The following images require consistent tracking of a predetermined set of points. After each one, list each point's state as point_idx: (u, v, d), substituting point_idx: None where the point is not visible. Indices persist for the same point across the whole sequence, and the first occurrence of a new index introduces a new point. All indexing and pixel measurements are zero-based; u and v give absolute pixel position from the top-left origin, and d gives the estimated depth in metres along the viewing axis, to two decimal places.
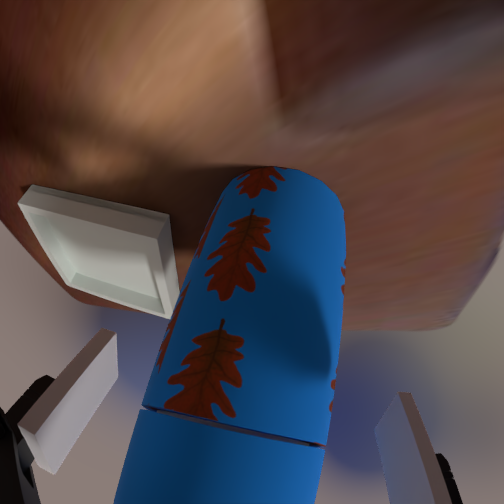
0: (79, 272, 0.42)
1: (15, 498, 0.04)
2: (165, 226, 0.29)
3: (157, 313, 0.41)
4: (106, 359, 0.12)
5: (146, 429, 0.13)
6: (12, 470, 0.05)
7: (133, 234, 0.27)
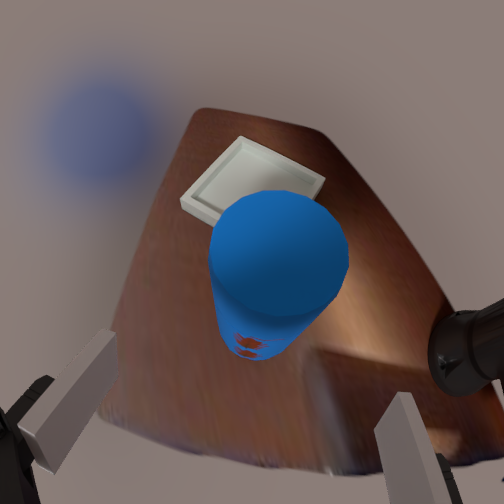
0: (241, 152, 0.59)
1: (15, 498, 0.04)
2: None
3: (191, 190, 0.52)
4: (106, 359, 0.12)
5: None
6: (12, 470, 0.05)
7: None
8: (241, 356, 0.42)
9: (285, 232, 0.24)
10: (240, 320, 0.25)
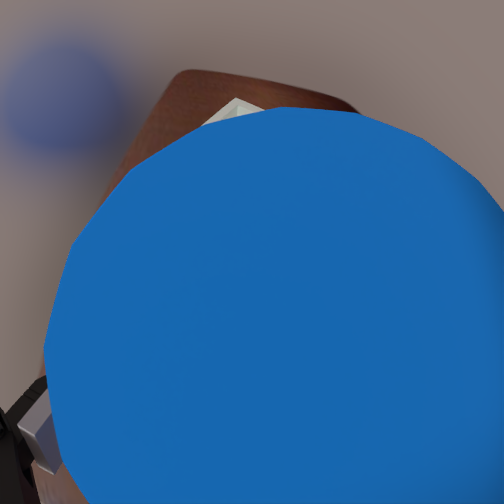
0: None
1: (15, 498, 0.04)
2: None
3: None
4: None
5: None
6: (12, 470, 0.05)
7: None
8: None
9: (386, 266, 0.05)
10: None
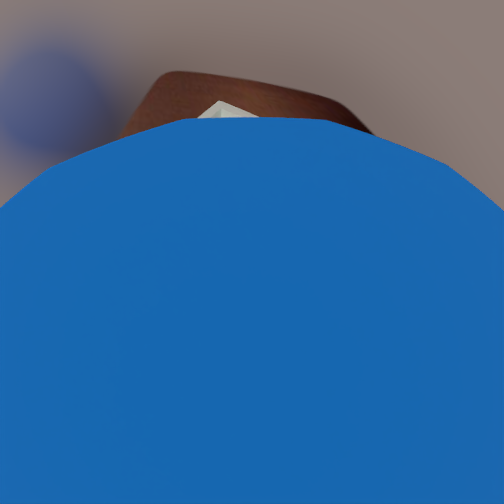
0: None
1: None
2: None
3: None
4: None
5: None
6: None
7: None
8: None
9: (349, 474, 0.02)
10: None
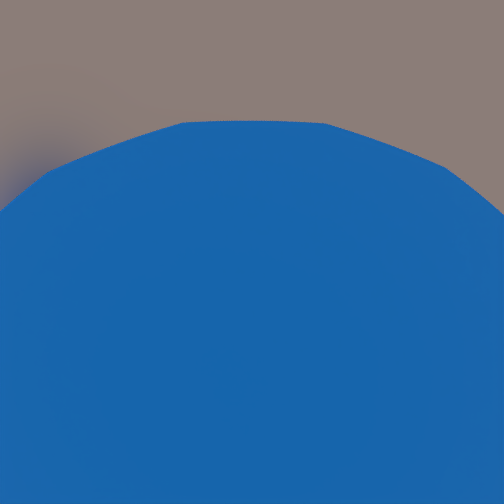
0: None
1: None
2: None
3: None
4: None
5: None
6: None
7: None
8: None
9: (346, 477, 0.02)
10: None
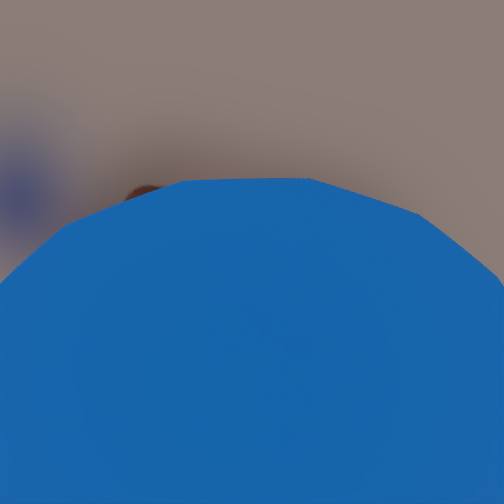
0: None
1: None
2: None
3: None
4: None
5: None
6: None
7: None
8: None
9: (312, 479, 0.03)
10: None
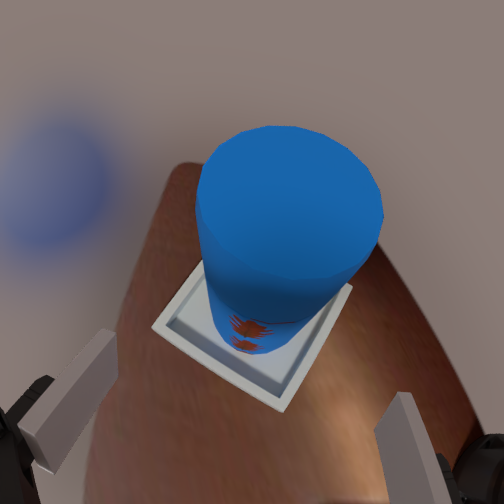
0: None
1: (15, 498, 0.04)
2: (276, 409, 0.34)
3: (167, 314, 0.36)
4: (106, 359, 0.12)
5: None
6: (12, 470, 0.05)
7: (292, 394, 0.33)
8: (238, 349, 0.36)
9: (299, 172, 0.18)
10: (238, 292, 0.18)
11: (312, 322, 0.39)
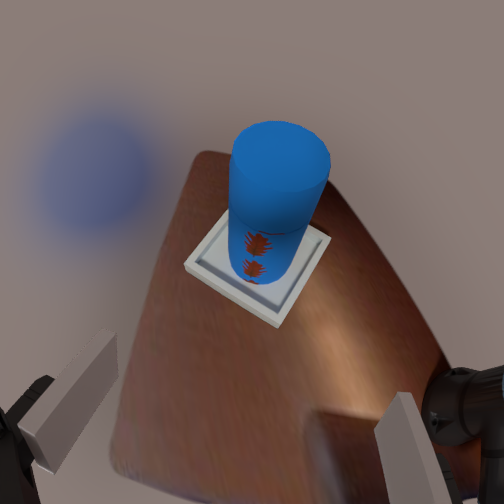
0: None
1: (15, 498, 0.04)
2: (275, 325, 0.49)
3: (195, 254, 0.52)
4: (106, 359, 0.12)
5: None
6: (12, 470, 0.05)
7: (287, 311, 0.49)
8: (247, 278, 0.51)
9: (285, 144, 0.33)
10: (252, 207, 0.33)
11: (301, 263, 0.55)
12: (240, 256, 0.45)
